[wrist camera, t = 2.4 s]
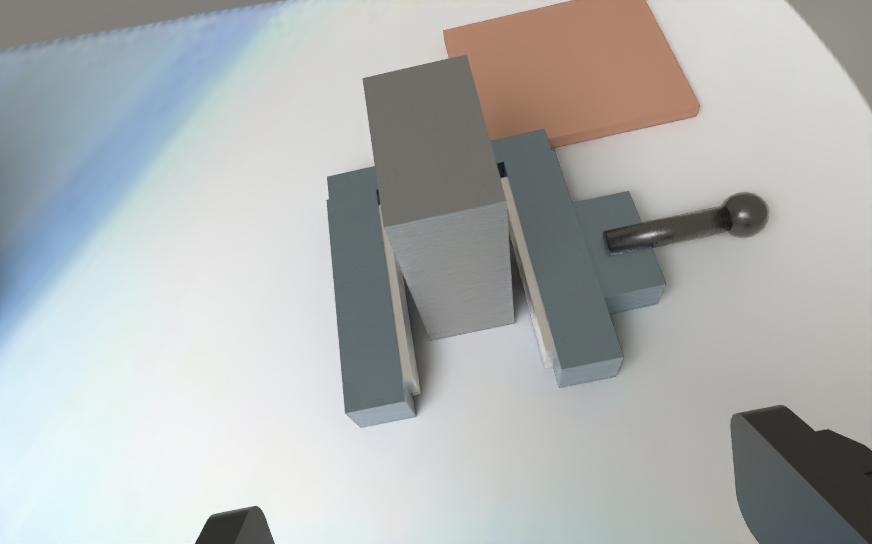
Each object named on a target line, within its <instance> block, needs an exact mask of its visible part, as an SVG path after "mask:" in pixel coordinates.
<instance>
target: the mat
mask: <svg viewBox="0 0 872 544" xmlns="http://www.w3.org/2000/svg"><path fill="white" fill-rule="evenodd" d="M443 33H444V40H445V44H446V48H447V52H448V56H449V58H453V57H458V56H462V55H466V54H467V57H468V60H469V64H470V68H471V71H472V75H473V79H474V82H475V86H476V90H477V94H478V97H479V101H480V105H481V108H482V112H483V116H484V119H485V123H486V127H487V131H488V134H489V138H490V141H491V140H495V139H500V138H504V137H508V136H513V135H517V134H522V133H526V132H531V131H535V130H540V129H545V132H546V135H547V138H548V141H549V144H550V147H551V148H555V147H559V146H564V145H568V144H573V143H577V142H582V141H586V140H591V139H595V138H600V137H604V136H609V135H613V134H618V133H623V132H627V131H632V130H636V129H641V128H645V127H650V126H654V125H659V124H663V123H668V122H672V121H677V120H681V119H686V118H690V117H695V116H696V115H697V113H698V110H699V107H700V105H699V103H698V101H697V99H696V97H695V95H694V93H693V91H692V89H691V87H690V85H689V83H688V81H687V79H686V78H685V76H684V74H683V72H682V70H681V68H680V66H679V64H678V62H677V60H676V58H675V56H674V54H673V52H672V51H671V49H670V47H669V45H668V43H667V41H666V39H665V37H664V35H663V33H662V31H661V29H660V27H659V25H658V23H657V22H656V20H655V18H654V16H653V14H652V12H651V10H650V8H649V6H648V4H647V2H646V0H572V1H568V2H564V3H559V4H555V5H551V6H546V7H542V8H538V9H534V10H529V11H525V12H521V13H516V14H512V15H508V16H503V17H499V18H495V19H491V20H486V21H482V22H478V23H473V24H469V25H465V26H460V27H456V28H452V29H448V30H443Z"/></svg>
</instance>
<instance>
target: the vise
mask: <svg viewBox="0 0 872 544" xmlns="http://www.w3.org/2000/svg"><path fill="white" fill-rule="evenodd" d="M490 142H491V145H492V149H493V153H494V157H495V160H496V164H497V168H498V171H499V175H500V179H501V182H502V186H503V190H504V194H505V197H506V201H507V216H508V231H509V235H510V238H511V242H512V246H513V250H514V254H515V257H516V261H517V265H518V269H519V272H520V276H521V280H522V284H523V288H524V291H525V295H526V299H527V303H528V307H529V310H530V314H531V318H532V322H533V326H534V329H535V333H536V337H537V341H538V344H539V348H540V352H541V356H542V360H543V363H544V367H545V369H547V368H552V367H553V368H554V371H555V375H556V379H557V382H558V386H559V388H561V387H566V386H571V385H576V384H581V383H586V382H591V381H596V380H601V379H606V378H611V377H616V375H617V373H618V370H619V368H620V365H621V363H622V360H623V358H624V356H623V353H622V350H621V347H620V344H619V341H618V338H617V335H616V332H615V329H614V326H613V323H612V320H611V317H610V315H609V314H611V313H616V312H621V311H626V310H631V309H636V308H640V307H645V306H650V305H655V304H658V302H659V299H660V297H661V295H662V293H663V290H664V288H665V286H666V283H665V280H664V278H663V275H662V273H661V270H660V268H659V265H658V263H657V260H656V258H655V255H654V253H653V250H652V248H655V247H660V246H665V245H670V244H674V243H679V242H684V241H689V240H693V239H698V238H703V237H707V236H712V235H717V234H722V233H726V232H727V233H728V234H730V235H732V236H734V237H739V238H746V237H751V236H754V235H756V234H758V233H759V232H760V231H762V230H763V229H764V227H765V226H766V224H767V222H768V219H769V209H768V206H767V204H766V202H765V201H764V200H763V199H762V198H761V197H759V196H758V195H756V194H753V193H748V192H742V193H737V194H734V195H732V196H730V197H728V198H727V199H726V200H725V201H724V202H723V203H722V205H721V206H719V207H714V208H709V209H705V210H700V211H695V212H690V213H686V214H681V215H676V216H672V217H667V218H662V219H658V220H653V221H648V222H644V223H641V220H640V218H639V215H638V213H637V210H636V208H635V205H634V203H633V200H632V198H631V195H630V193H629V191H627V192H622V193H617V194H613V195H608V196H604V197H599V198H594V199H590V200H585V201H580V202H576V203H572V201H571V199H570V196H569V193H568V190H567V187H566V184H565V181H564V178H563V175H562V172H561V169H560V166H559V163H558V160H557V157H556V154H555V151H554V150H551V147H550V144H549V141H548V138H547V135H546V132H545V129H540V130H535V131H531V132H526V133H522V134H517V135H513V136H508V137H504V138H500V139H495V140H491V141H490ZM327 181H328V192H329V200H327V210H328V221H329V233H330V244H331V256H332V267H333V279H334V290H335V302H336V313H337V325H338V336H339V348H340V359H341V371H342V382H343V394H344V405H345V414H346V415H347V416H349V417H350V418H351V419H352V420H353V421H354V422H355V423H356V424H357V425H358V426H359V427H361V428H362V427H367V426H372V425H377V424H382V423H387V422H392V421H397V420H402V419H407V418H412V417H416V414H415V408H414V401H413V396H414V395H419V394H421V391H420V385H419V378H418V372H417V365H416V358H415V352H414V345H413V339H412V332H411V326H410V319H409V313H408V306H407V300H406V293H405V286H404V280H403V273H402V271H401V268H400V266H399V263H398V261H397V259H396V256H395V254H394V251H393V249H392V246H391V244H390V242H389V239H388V237H387V234H386V232H385V230H384V226H383V219H382V212H381V205H380V198H379V191H378V184H377V177H376V169H375V166H374V167H369V168H365V169H360V170H356V171H351V172H347V173H342V174H338V175H333V176H329V177H327Z"/></svg>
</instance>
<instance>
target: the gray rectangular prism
mask: <svg viewBox="0 0 872 544" xmlns="http://www.w3.org/2000/svg"><path fill="white" fill-rule="evenodd" d="M363 84H364V91H365V99H366V106H367V113H368V120H369V127H370V134H371V141H372V148H373V155H374V162H375V169H376V177H377V184H378V191H379V198H380V205H381V212H382V219H383V226H384V230H385V232H386V234H387V237H388V239H389V242H390V244H391V246H392V249H393V251H394V254H395V256H396V259H397V261H398V263H399V266H400V268H401V271H402V273H403V275H404V278H405V280H406V283H407V285H408V287H409V290H410V292H411V295H412V297H413V300H414V302H415V304H416V307H417V309H418V312H419V314H420V316H421V319H422V321H423V324H424V326H425V329H426V331H427V333H428V336H429V338H430V341H432V340H437V339H441V338H446V337H451V336H456V335H461V334H466V333H470V332H475V331H480V330H485V329H490V328H495V327H499V326H504V325H509V324H514V307H513V292H512V277H511V262H510V247H509V231H508V216H507V201H506V197H505V194H504V190H503V186H502V182H501V179H500V175H499V171H498V168H497V164H496V160H495V157H494V153H493V149H492V145H491V142H490V138H489V134H488V131H487V127H486V123H485V119H484V116H483V112H482V108H481V105H480V101H479V97H478V94H477V90H476V86H475V82H474V79H473V75H472V71H471V68H470V64H469V60H468V57H467V54H466V55H462V56H458V57H453V58H449V59H445V60H440V61H436V62H432V63H427V64H423V65H419V66H414V67H410V68H406V69H401V70H397V71H393V72H388V73H384V74H380V75H375V76H371V77H366V78H363Z"/></svg>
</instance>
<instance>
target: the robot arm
mask: <svg viewBox="0 0 872 544" xmlns="http://www.w3.org/2000/svg"><path fill="white" fill-rule="evenodd" d="M731 438H732V450H733V462H734V473H735V485H736V495H737V500H738V504H739V507H740V510H741V513H742V515H743V518H744V520H745V522H746V524H747V526H748V528H749V530H750V531H751V533H752V534H753V536H754V537H755V538H756V540H757V541H758V543H759V544H872V451H871V450H870V449H869V448H868V447H866V446H865V445H863V444H861V443H858V442H856V441H854V440H851V439H849V438H847V437H845V436H842V435H840V434H838V433H835V432H833V431H831V430H828V429H827V430H822V431H816V432H815V431H814V430H813V429H812V428H811V427H810V426H808V425H807V424H806V423H805V422H804V421H803V420H801V419H800V418H799V417H798V416H797V415H796V414H794V413H793V412H792V411H791V410H790V409H788V408H787V407H785V406H783V405H778V406H772V407H767V408H762V409H757V410H752V411H747V412H742V413H737V414H734V415H733V416H732V418H731ZM195 544H275V543H274V541H273V538H272V535H271V532H270V529H269V526H268V524H267V521H266V518H265V516H264V513H263V512H262V510H261V509H260V508H259V507H258V506H253V507H248V508H242V509H237V510H232V511H227V512H222V513H217V514H213V515H211V516H210V517H209V519H208V520H207V522H206V524H205V526H204V527H203V529H202V531H201V533H200V535H199V537H198V539H197V541H196V543H195Z"/></svg>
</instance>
